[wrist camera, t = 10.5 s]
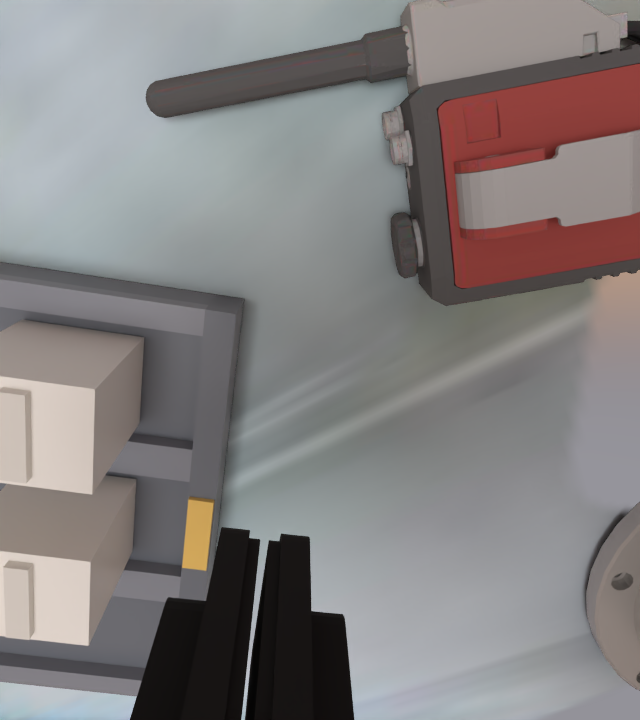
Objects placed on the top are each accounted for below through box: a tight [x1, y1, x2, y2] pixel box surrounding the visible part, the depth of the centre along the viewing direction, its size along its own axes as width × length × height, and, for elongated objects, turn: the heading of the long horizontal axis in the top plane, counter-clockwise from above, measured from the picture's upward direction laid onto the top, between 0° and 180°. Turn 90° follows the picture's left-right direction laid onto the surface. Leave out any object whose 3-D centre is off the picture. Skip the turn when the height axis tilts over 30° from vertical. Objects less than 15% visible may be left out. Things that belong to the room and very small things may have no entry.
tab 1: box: [0, 320, 144, 494], centre depth 17 cm, size 4×3×5 cm
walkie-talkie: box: [146, 0, 640, 306], centre depth 17 cm, size 9×4×20 cm
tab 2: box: [0, 475, 136, 646], centre depth 19 cm, size 4×3×5 cm
